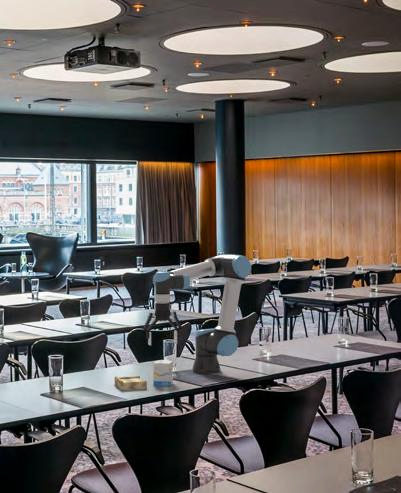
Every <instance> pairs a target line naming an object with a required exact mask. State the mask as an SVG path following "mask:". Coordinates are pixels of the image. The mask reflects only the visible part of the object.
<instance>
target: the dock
mask: <svg viewBox="0 0 401 493" xmlns="http://www.w3.org/2000/svg"><path fill="white" fill-rule="evenodd" d="M147 382H148V381H147V380H144V379H142V378H141V376H140V375H135V376H132V375H131V376H121V377H120V376H119V377H118V375H114V387H116V388H117V389H118V390H120V391H121V392H122V391H132V390H134V391H136V390H146V389H147V388H148V383H147Z"/></svg>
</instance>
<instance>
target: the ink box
mask: <svg viewBox="0 0 401 493" xmlns="http://www.w3.org/2000/svg"><path fill="white" fill-rule="evenodd" d="M173 362H174V361H173V360H162V359H161V360H156V361H155V362H153V364H152V365H153V366H152V367H153V374H152V375H153V380H152V381H153V382H152V383H153V384H152V385H153V387H170V386H172V384H174V367H173V366H174V364H173Z"/></svg>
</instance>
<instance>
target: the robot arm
mask: <svg viewBox="0 0 401 493" xmlns="http://www.w3.org/2000/svg"><path fill="white" fill-rule="evenodd" d="M251 272H252V264H251V262H250V260H249V258H248V257H246V256H245V255H241V254H220V255H219V254H218V255H217V256H213V257H209V258H207V259H205V260H204V261H203V262H202V261H201V262H199V263H196V264H192V265H188V266H184V267H181V268H178V269H174V270H170V271H156V272H155V274H154V275H153V277H152V283H153V286H154V289H155V290H154V296H155V297H154V298H155V299H154V302H155V303H154V307H155V308H154V312H151V311H149V312H148V317H147V319H146V321H145V324H144V326H143V327H142V331H143V332H146V334H145V335H146V339H148V340H147V344H148V345H149V346H152V332H151V330H153V328H154V327H155V325H157V323H159V322H169V324H170V325H171V326H172V328H174V331H173V339H174V340H173V344H174V345H177V344H178V338H179V336H180V331H181V330H183V326H182V324H181V322H180V319H179V318H178V315H177V312H176V311H175V310H174V311H171V303H170V302H171V291H174V290H175V291H177V290H178V291H179V290H186V289H189V287H190V286H191V281H193V280H196V279H200V278H204V277H206V276H209V277H214V276H223V277H222V278H223V280H224V282H225V283H224V288H223V295H222V300H221V304H220V310H219V311H220V312H219V316H218V317H219V318H218V323H217V326H216V327H214V328H205V329H198V330H196V332H195V359H194V362H193V364H192V372H193V373H195V374H202V375H203V374H205V375H206V374H218V373H220V372H221V365H220V361H219V359H218V356H221V357H230V356H232V355H233V354H235V353H236V352H237V350H238V348H239V347H238V346H239V340H238V337H237V336H236V333H237V332H236V330H235V323H236V317H237V312H238V305H239V300H240V298H239V297H240V292H241V288H242V285H243V283H244V282H245V280H246V278H247V277H248V276H249V275H250V274H251ZM171 316H172V317H173V319H174V321H173V320H172V319H171ZM153 317H155V318H154V320H153V321H152V319H153ZM151 321H152V322H151ZM150 323H151V324H150Z"/></svg>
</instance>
